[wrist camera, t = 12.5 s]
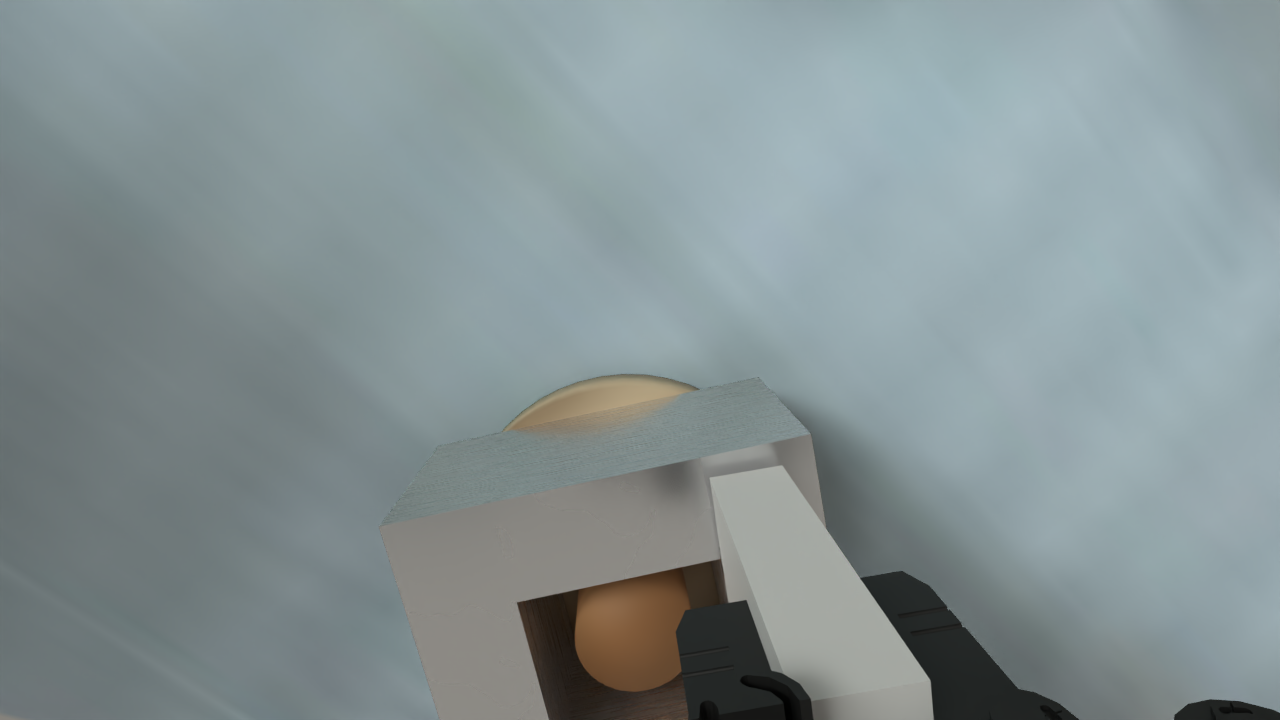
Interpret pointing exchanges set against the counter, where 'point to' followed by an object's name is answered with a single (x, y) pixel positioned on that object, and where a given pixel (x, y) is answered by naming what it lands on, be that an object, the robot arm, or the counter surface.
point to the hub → (636, 607)
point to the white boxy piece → (570, 541)
